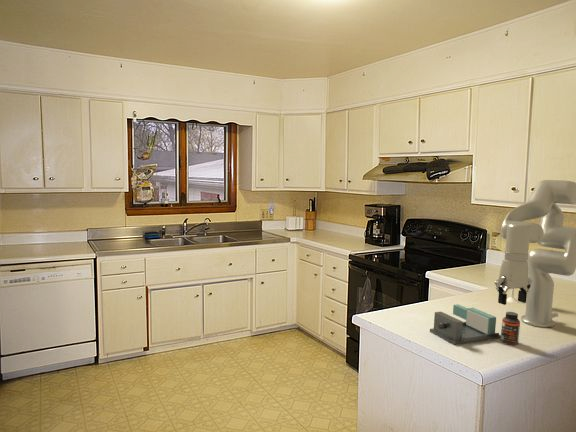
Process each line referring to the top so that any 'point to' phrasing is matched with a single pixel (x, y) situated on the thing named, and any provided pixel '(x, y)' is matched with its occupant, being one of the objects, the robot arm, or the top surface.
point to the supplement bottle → (510, 328)
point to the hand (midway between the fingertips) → (512, 302)
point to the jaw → (476, 319)
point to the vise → (458, 330)
